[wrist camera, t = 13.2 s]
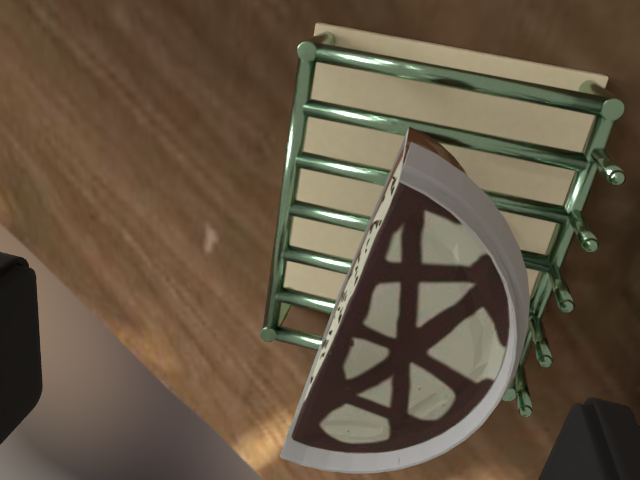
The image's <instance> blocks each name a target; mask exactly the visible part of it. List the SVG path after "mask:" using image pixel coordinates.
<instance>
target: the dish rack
mask: <svg viewBox="0 0 640 480" xmlns="http://www.w3.org/2000/svg"><path fill="white" fill-rule="evenodd" d="M297 55H298V65H297V72H296V80H295V87H294V95H293V103H292V110H291V118H290V125H289V133H288V140H287V148H286V156H285V163H284V171H283V178H282V186H281V194H280V201H279V209H278V216H277V224H276V231H275V239H274V247H273V254H272V262H271V269H270V277H269V284H268V292H267V300H266V307H265V315H264V322H263V327H262V329H261V331H260V336H261V338H262V339H263V340H264V341H266V342H272V341H274V340H276V341H280V342H284V343H288V344H292V345H296V346H300V347H304V348H308V349H312V350H316V351H318V349H319V347H320V344H321V341H322V338H323V336H319V335H315V334H311V333H307V332H303V331H299V330H295V329H291V328H287V327H283V326H282V324H283V322H284V320H285V318H286V316H287V314H288V312H289V310H290V308H291V306H292V305H294V306H298V307H302V308H307V309H311V310H315V311H319V312H323V313H327V314H331V313H332V311H333V308H334V305H335V302H336V300H337V297H338V295H339V292H340V290H341V288H342V285H343V283H344V280H345V278H346V276H347V273H348V271H349V269H350V266H351V264H352V261H353V259H354V257H355V254H356V252H357V249H358V247H359V245H360V242H361V240H362V238H363V235H364V233H365V230H366V228H367V226H368V223H369V221H370V219H371V216H372V214H373V211H374V209H375V207H376V204H377V202H378V200H379V197H380V195H381V192H382V190H383V188H384V185H385V183H386V181H387V178H388V176H389V173H390V171H391V169H392V166H393V164H394V161H395V159H396V157H397V154H398V152H399V150H400V147H401V145H402V142H403V140H404V138H405V135H406V133H407V131H408V128H409V127H411V128H414V129H416V130H418V131H420V132H422V133H424V134H426V135H428V136H429V137H431V138H432V139H434V140H435V141H437V142H438V143H439V144H441V145H442V146H443V147H444V148H445V149H446V150H447V151H449V152H450V153H451V154H452V155H453V156H454V157H455V159H456V160H457V161H458V162H459V164H460V165H461V166H462V168H463V169H464V170H465V172H466V174H467V176H468V177H469V178H470V179H471V180H472V181H473V182H474V183H475V184H476V185H477V186H478V187H479V188H480V189H482V190H483V191H484V192H485V193H486V194H487V195H488V197H489V198H490V199H491V201H492V202H493V203H494V205H495V206H496V207H497V209H498V210H499V211H500V213H501V214H502V215H503V217H504V218H505V219H506V221H507V223H508V225H509V227H510V229H511V231H512V233H513V235H514V237H515V239H516V241H517V243H518V245H519V247H520V251H521V254H522V257H523V261H524V264H525V267H526V271H527V276H528V285H529V295H530V297H531V299H530V306H529V318H528V327H527V332H526V337H525V342H524V347H523V351H522V354H521V358H520V361H519V364H518V368H517V371H516V374H515V376H514V378H513V380H512V382H511V384H510V386H509V388H508V390H507V392H506V394H505V396H504V397H503V398H502V400H503V401H512V400H514V399H515V397H516V399H517V406H518V412H519V414H520V415H521V416H522V417H525V418H527V417H530V416H531V415H532V412H533V410H532V405H531V399H530V394H529V389H528V383H527V378H526V373H525V368H524V366H525V364H526V361H527V358H528V356H529V353H530V350H531V348H532V345H533V343H534V348H535V352H536V357H537V361H538V364H539V365H540V366H541V367H543V368H548V367H550V366H551V365H552V362H553V360H552V356H551V352H550V348H549V345H548V341H547V337H546V333H545V329H544V326H543V322H542V318H543V316H544V313H545V310H546V308H547V305H548V302H549V300H550V297H551V294H552V292H553V291H554V294H555V297H556V301H557V304H558V307H559V309H560V311H562V312H563V313H570V312H572V311H573V310H574V307H575V305H574V302H573V299H572V297H571V294H570V291H569V288H568V286H567V283H566V280H565V278H564V275H563V272H562V270H561V268H562V265H563V262H564V260H565V257H566V254H567V252H568V249H569V246H570V244H571V241H572V238H573V236H574V233H575V234H576V236H577V238H578V240H579V242H580V244H581V246H582V248H583V250H584V251H585V252H587V253H593V252H595V251H597V249H598V247H599V243H598V241H597V239H596V237H595V235H594V233H593V232H592V230H591V228H590V226H589V224H588V222H587V221H586V219H585V217H584V215H583V213H582V212H583V209H584V207H585V204H586V201H587V199H588V196H589V193H590V191H591V188H592V185H593V183H594V180H595V177H596V175H597V172H598V169H599V170H600V171H601V173H602V174H603V175H604V177H605V178H606V179H607V181H608V182H609V183H610V184H611V185H613V186H620V185H622V184H623V183H624V182H625V180H626V175H625V173H624V172H623V171H622V169H621V168H620V167H619V166H618V165H617V164H616V163H615V161H614V160H613V159H612V158H611V157H610V156H609V154H608V153H607V152H606V148H607V145H608V143H609V140H610V137H611V135H612V132H613V129H614V127H615V124H616V121H617V119H618V118H620V117H621V116H622V114H623V112H624V104H623V102H622V101H621V100H620V99H618V98H617V97H616V96H614V95H613V94H612V93H610V92H609V91H608V90H606V89H605V87H606V84H607V82H608V79H609V78H608V77H607V76H606V75H603V74H598V73H592V72H587V71H581V70H576V69H571V68H565V67H560V66H554V65H549V64H543V63H538V62H532V61H527V60H521V59H516V58H511V57H505V56H500V55H494V54H489V53H483V52H478V51H472V50H467V49H462V48H456V47H451V46H445V45H440V44H434V43H429V42H423V41H418V40H413V39H407V38H402V37H396V36H391V35H385V34H380V33H374V32H369V31H364V30H358V29H353V28H347V27H342V26H336V25H331V24H325V23H320V22H319V23H316V24H315V31H314V36H313V37H311V38H309V39H307V40H305V41H303V42H301V43H300V44H299V45H298V48H297ZM595 116H596V118H595ZM594 118H595V120H594ZM593 121H594V123H593ZM592 123H593V126H592ZM591 126H592V129H591ZM590 129H591V132H590ZM589 132H590V134H589ZM588 135H589V137H588ZM587 137H588V140H587ZM586 140H587V143H586ZM585 143H586V145H585ZM584 146H585V148H584ZM583 149H584V151H583ZM582 151H583V153H582ZM575 171H576V173H575ZM574 174H575V176H574ZM573 176H574V179H573ZM572 179H573V182H572ZM571 182H572V184H571ZM570 185H571V187H570ZM569 188H570V190H569ZM568 190H569V193H568ZM567 193H568V196H567ZM566 196H567V198H566ZM565 199H566V201H565ZM564 202H565V204H564ZM563 204H564V206H563ZM556 224H557V226H556ZM555 227H556V229H555ZM554 230H555V232H554ZM553 232H554V235H553ZM552 235H553V237H552ZM551 238H552V240H551ZM550 241H551V243H550ZM549 243H550V246H549ZM548 246H549V249H548ZM547 249H548V251H547ZM546 252H547V254H546ZM539 271H540V274H539ZM538 274H539V276H538ZM537 277H538V279H537ZM536 280H537V282H536ZM535 283H536V285H535ZM534 285H535V288H534ZM533 288H534V290H533ZM532 291H533V293H532ZM531 294H532V296H531Z"/></svg>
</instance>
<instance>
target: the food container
mask: <svg viewBox="0 0 640 480" xmlns="http://www.w3.org/2000/svg"><path fill="white" fill-rule="evenodd" d="M529 306H530V295H529V285H528V276H527V271H526V267H525V264H524V261H523V257H522V254H521V251H520V247H519V245H518V243H517V241H516V239H515V237H514V235H513V233H512V231H511V229H510V227H509V225H508V223H507V221H506V219H505V218H504V217H503V215H502V214H501V213H500V211H499V210H498V209H497V207H496V206H495V205H494V203H493V202H492V201H491V199H490V198H489V197H488V195H487V194H486V193H485V192H484V191H483V190H482V189H480V188H479V187H478V186H477V185H476V184H475V183H474V182H473V181H472V180H471V179H470V178H469V177H468V176H467V174H466V172H465V170H464V169H463V168H462V166H461V165H460V164H459V162H458V161H457V160H456V159H455V157H454V156H453V155H452V154H451V153H450V152H449V151H447V150H446V149H445V148H444V147H443V146H442V145H441V144H439V143H438V142H437V141H435V140H434V139H432V138H431V137H429V136H428V135H426V134H424V133H422V132H420V131H418V130H416V129H414V128H411V127H409V128H408V131H407V133H406V135H405V138H404V140H403V142H402V145H401V147H400V150H399V152H398V154H397V157H396V159H395V161H394V164H393V166H392V169H391V171H390V173H389V176H388V178H387V181H386V183H385V185H384V188H383V190H382V192H381V195H380V197H379V200H378V202H377V204H376V207H375V209H374V211H373V214H372V216H371V219H370V221H369V223H368V226H367V228H366V230H365V233H364V235H363V238H362V240H361V242H360V245H359V247H358V249H357V252H356V254H355V257H354V259H353V261H352V264H351V266H350V269H349V271H348V273H347V276H346V278H345V280H344V283H343V285H342V288H341V290H340V292H339V295H338V297H337V300H336V302H335V305H334V308H333V311H332V313H331V316H330V319H329V322H328V324H327V327H326V330H325V333H324V335H323V338H322V341H321V344H320V347H319V349H318V352H317V355H316V358H315V360H314V363H313V366H312V369H311V371H310V374H309V377H308V380H307V382H306V385H305V388H304V391H303V393H302V396H301V399H300V402H299V405H298V407H297V410H296V413H295V416H294V418H293V421H292V424H291V426H290V427H289V430H288V433H287V436H286V439H285V442H284V445H283V448H282V452H281V454H280V457H279V458H282V459H285V460H288V461H291V462H294V463H296V464H299V465H302V466H307V467H311V468H316V469H320V470H324V471H332V472H341V473H379V472H386V471H393V470H400V469H403V468H407V467H410V466H414V465H418V464H421V463H424V462H426V461H429V460H431V459H433V458H435V457H438V456H440V455H442V454H444V453H446V452H448V451H449V450H451V449H452V448H454V447H455V446H457V445H458V444H460V443H462V442H463V441H465V440H466V439H467V438H468V437H469V436H470V435H471V434H473V433H474V432H475V431H476V430H477V429H478V428H479V427H480V426H481V425H482V424H483V423H484V422H485V421H486V419H487V418H488V417H489V415H490V414H491V413H492V412H493V410H494V409H495V408H496V406H497V405H498V403H499V402H500V401H501V400H502V398H503V397H504V396H505V394H506V392H507V390H508V388H509V386H510V384H511V382H512V380H513V378H514V376H515V374H516V371H517V368H518V364H519V361H520V358H521V354H522V351H523V347H524V342H525V337H526V332H527V327H528V318H529Z"/></svg>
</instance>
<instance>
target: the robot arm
mask: <svg viewBox="0 0 640 480" xmlns="http://www.w3.org/2000/svg"><path fill="white" fill-rule="evenodd" d="M41 393H42V370H41V353H40V336H39V319H38V302H37V285H36V275H35V272H34V270H33V269H31V268H29V264H28V262H27V261H26V259H24V258H22V257H18V256H14V255H10V254H6V253H2V252H0V444H1V443H2V442H3V441H4V440H5V439H6V438H7V437H8V436H9V435H10V434H11V432H12V431H13V430H14V429H15V428H16V427H17V426H18V425H19V424H20V423H21V421H22V420H23V419H24V418H25V417H26V416H27V415H28V414H29V413H30V412H31V410H32V409H33V408H34V407H35V406H36V404H37V403H38V401H39V399H40V396H41ZM538 480H640V428H639V426H638V424H637V421H636V419H635V417H634V414H633V412H632V411H631V409H630V408H629V407H628V406H625V405H621V404H617V403H613V402H609V401H605V400H601V399H597V398H593V397H592V398H589V399H587V400H586V401H585V403H584V405H583V404H579V403H576V404H574V405H573V406H572V408H571V410H570V412H569V414H568V416H567V418H566V421H565V423H564V425H563V427H562V429H561V431H560V434H559V436H558V438H557V440H556V442H555V444H554V447H553V449H552V451H551V453H550V455H549V457H548V460H547V462H546V464H545V466H544V468H543V470H542V473H541V475H540V477H539V479H538Z"/></svg>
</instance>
